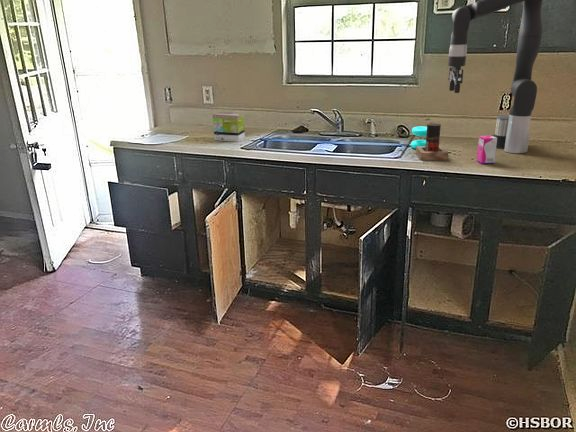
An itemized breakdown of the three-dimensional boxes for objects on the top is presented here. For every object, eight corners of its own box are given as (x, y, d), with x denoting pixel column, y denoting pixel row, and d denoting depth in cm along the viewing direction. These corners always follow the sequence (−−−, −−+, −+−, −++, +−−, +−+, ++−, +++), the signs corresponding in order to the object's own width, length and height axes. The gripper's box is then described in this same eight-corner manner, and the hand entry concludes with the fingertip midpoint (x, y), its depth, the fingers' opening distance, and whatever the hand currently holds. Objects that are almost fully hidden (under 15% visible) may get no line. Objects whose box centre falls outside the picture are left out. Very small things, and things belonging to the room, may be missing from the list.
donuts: (426, 125, 239) (436, 129, 231) (424, 144, 243) (435, 149, 234) (408, 126, 237) (418, 130, 228) (406, 146, 241) (417, 150, 232)
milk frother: (509, 150, 229) (514, 119, 223) (476, 146, 238) (480, 116, 232) (517, 144, 239) (522, 114, 233) (485, 140, 248) (489, 112, 243)
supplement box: (488, 160, 212) (491, 135, 208) (494, 163, 207) (498, 138, 202) (475, 160, 212) (478, 135, 208) (481, 164, 206) (484, 138, 202)
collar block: (440, 153, 226) (441, 146, 225) (447, 159, 215) (448, 152, 213) (415, 153, 227) (416, 146, 225) (420, 160, 215) (421, 152, 214)
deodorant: (422, 156, 221) (424, 124, 215) (429, 154, 225) (431, 122, 219) (433, 159, 217) (436, 126, 211) (440, 156, 220) (443, 124, 215)
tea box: (214, 141, 265) (211, 114, 260) (221, 137, 274) (219, 111, 269) (238, 142, 261) (237, 115, 255) (245, 138, 270) (244, 112, 264)
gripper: (470, 55, 208) (467, 93, 214) (461, 54, 221) (457, 89, 227) (453, 56, 208) (450, 94, 214) (445, 54, 222) (442, 90, 228)
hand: (454, 91), depth 221 cm, fingers open, 8 cm apart
